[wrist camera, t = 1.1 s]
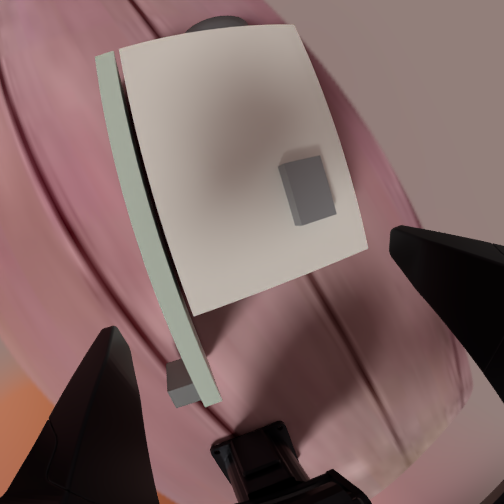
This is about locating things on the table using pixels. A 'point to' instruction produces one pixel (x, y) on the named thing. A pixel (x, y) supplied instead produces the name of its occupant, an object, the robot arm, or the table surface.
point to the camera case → (240, 158)
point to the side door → (154, 247)
